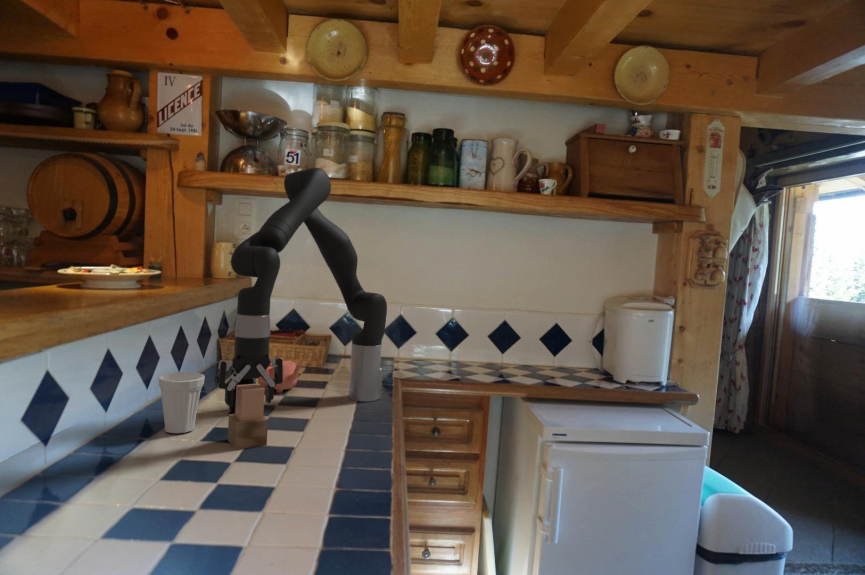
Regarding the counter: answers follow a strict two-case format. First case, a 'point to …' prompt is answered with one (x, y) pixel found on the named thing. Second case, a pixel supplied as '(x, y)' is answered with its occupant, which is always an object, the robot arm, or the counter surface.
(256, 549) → the counter surface
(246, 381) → the beverage can
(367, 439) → the counter surface
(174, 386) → the cup
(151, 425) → the counter surface
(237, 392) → the tan cardboard cube
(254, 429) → the base block
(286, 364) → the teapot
